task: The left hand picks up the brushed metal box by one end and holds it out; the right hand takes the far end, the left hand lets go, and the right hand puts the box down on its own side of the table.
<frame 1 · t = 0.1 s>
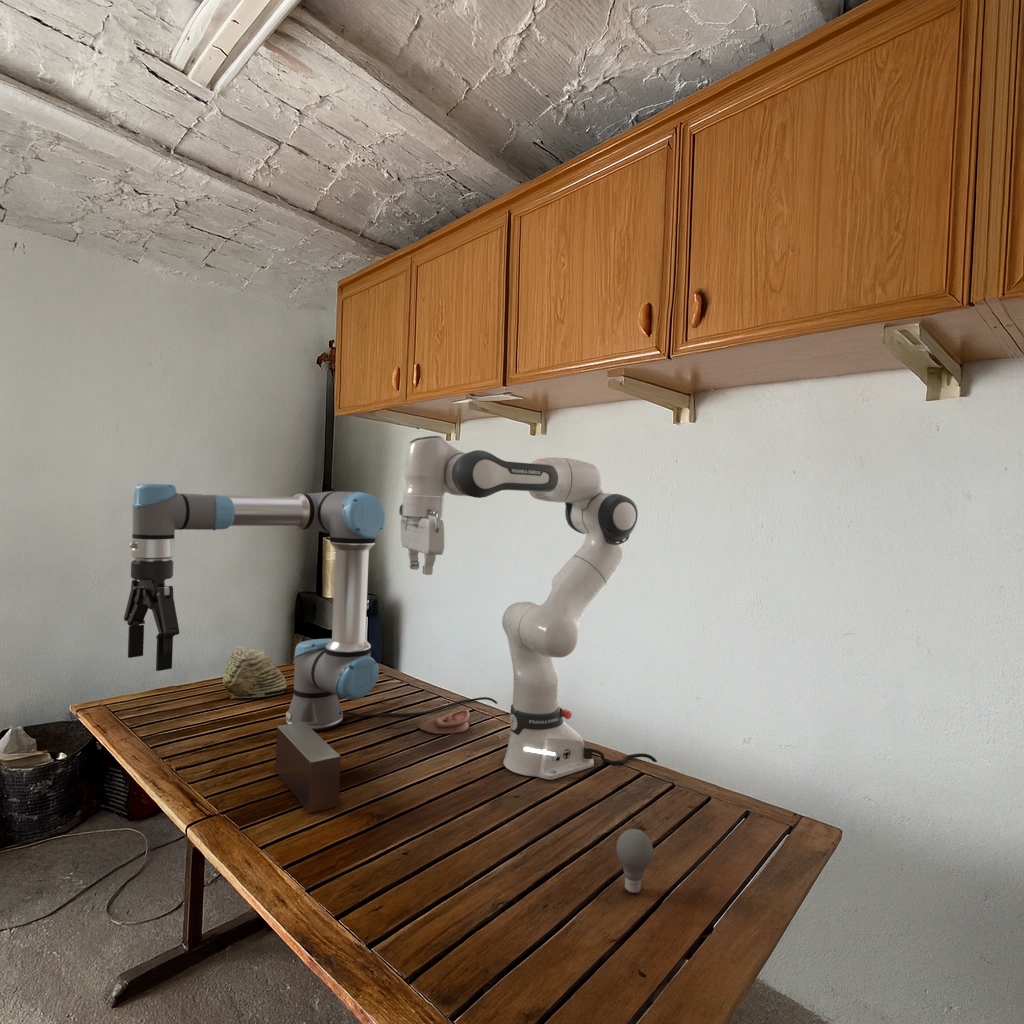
left hand: (149, 663, 129), 28 cm above the table, tool pointing down, fingers open, 13 cm apart
right hand: (420, 571, 140), 48 cm above the table, tool pointing down, fingers open, 8 cm apart
anatomical model: (444, 727, 177), on the table
fossil: (254, 694, 198), on the table
light bulb: (632, 891, 106), on the table
box: (305, 787, 138), on the table
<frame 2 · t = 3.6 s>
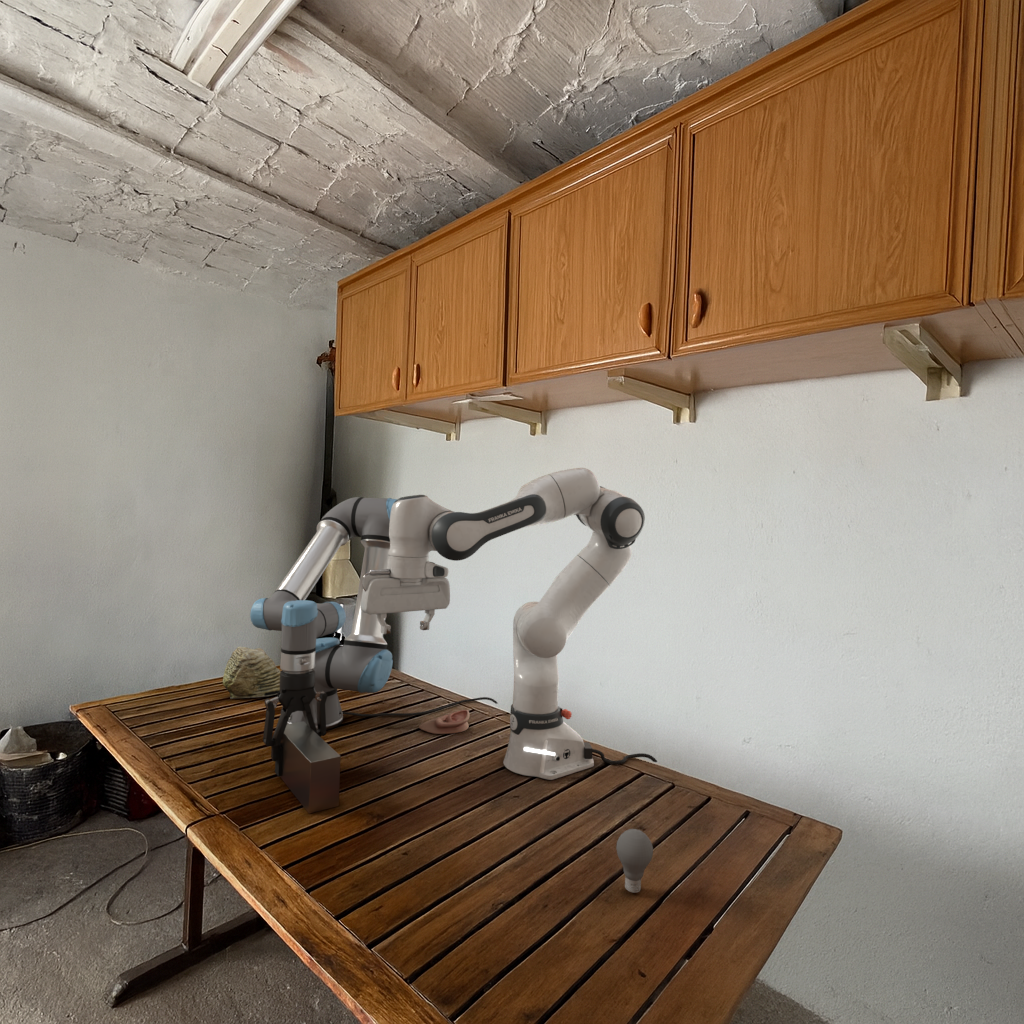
left hand: (293, 770, 144), 1 cm above the table, tool pointing down, fingers closed on box, 6 cm apart
right hand: (405, 631, 139), 35 cm above the table, tool pointing down, fingers open, 8 cm apart
box: (305, 787, 138), on the table, touching left hand
everything else where it was.
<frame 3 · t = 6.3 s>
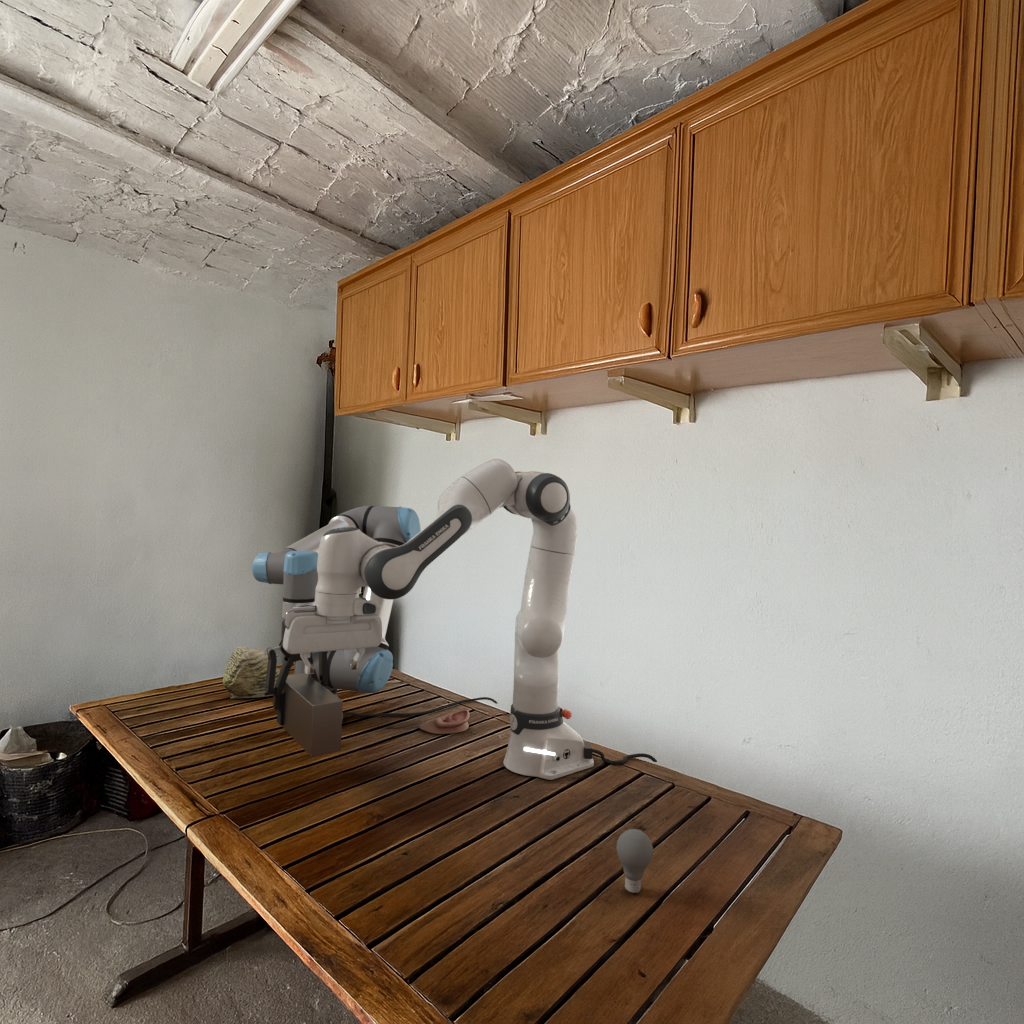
left hand: (295, 720, 144), 12 cm above the table, tool pointing down, fingers closed on box, 6 cm apart
right hand: (332, 671, 132), 27 cm above the table, tool pointing down, fingers open, 8 cm apart
box: (307, 735, 137), point 11 cm above the table, touching left hand
everything else where it was.
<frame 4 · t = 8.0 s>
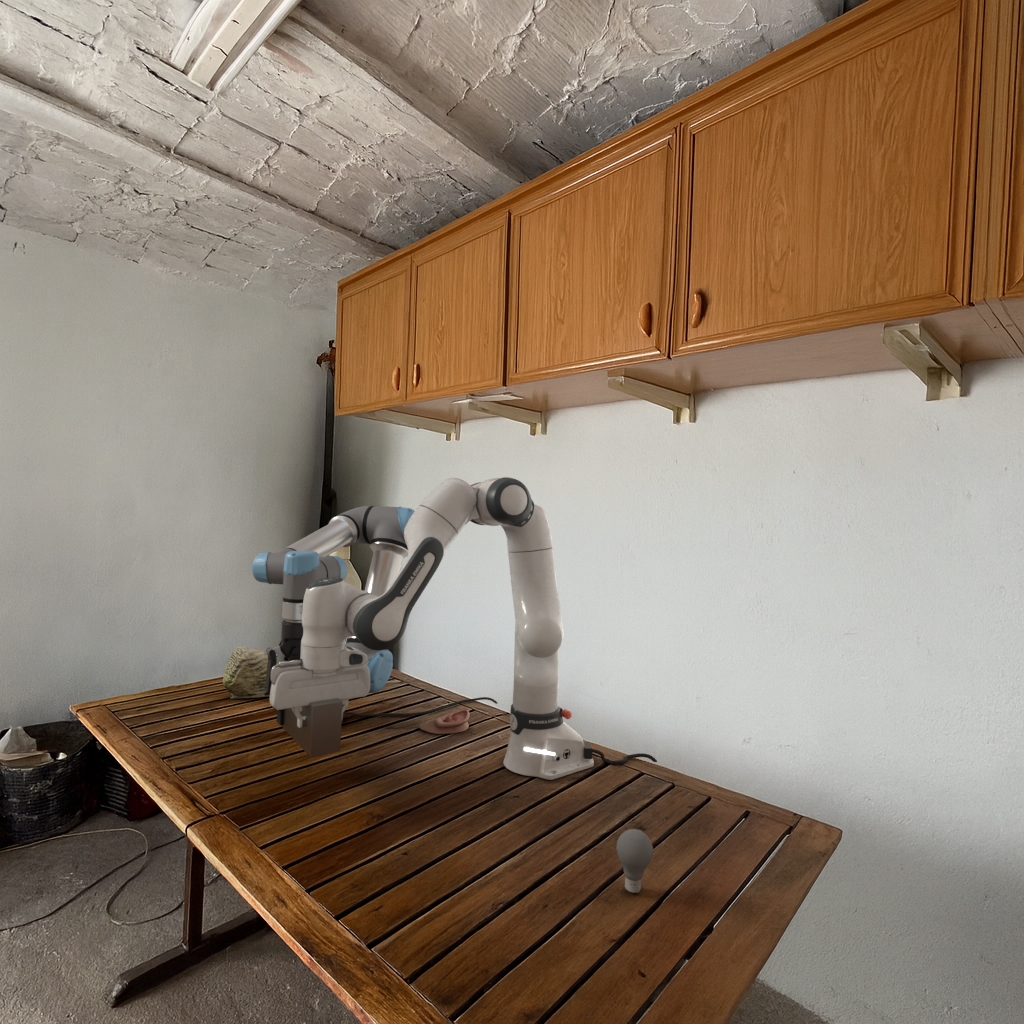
left hand: (295, 720, 144), 12 cm above the table, tool pointing down, fingers closed on box, 6 cm apart
right hand: (320, 723, 131), 17 cm above the table, tool pointing down, fingers closed on box, 6 cm apart
box: (306, 735, 137), point 11 cm above the table, touching left hand, right hand
everything else where it was.
when the left hand's fingers open (12 cm above the table, at t = 9.0 s): box stays where it is, held by the right hand.
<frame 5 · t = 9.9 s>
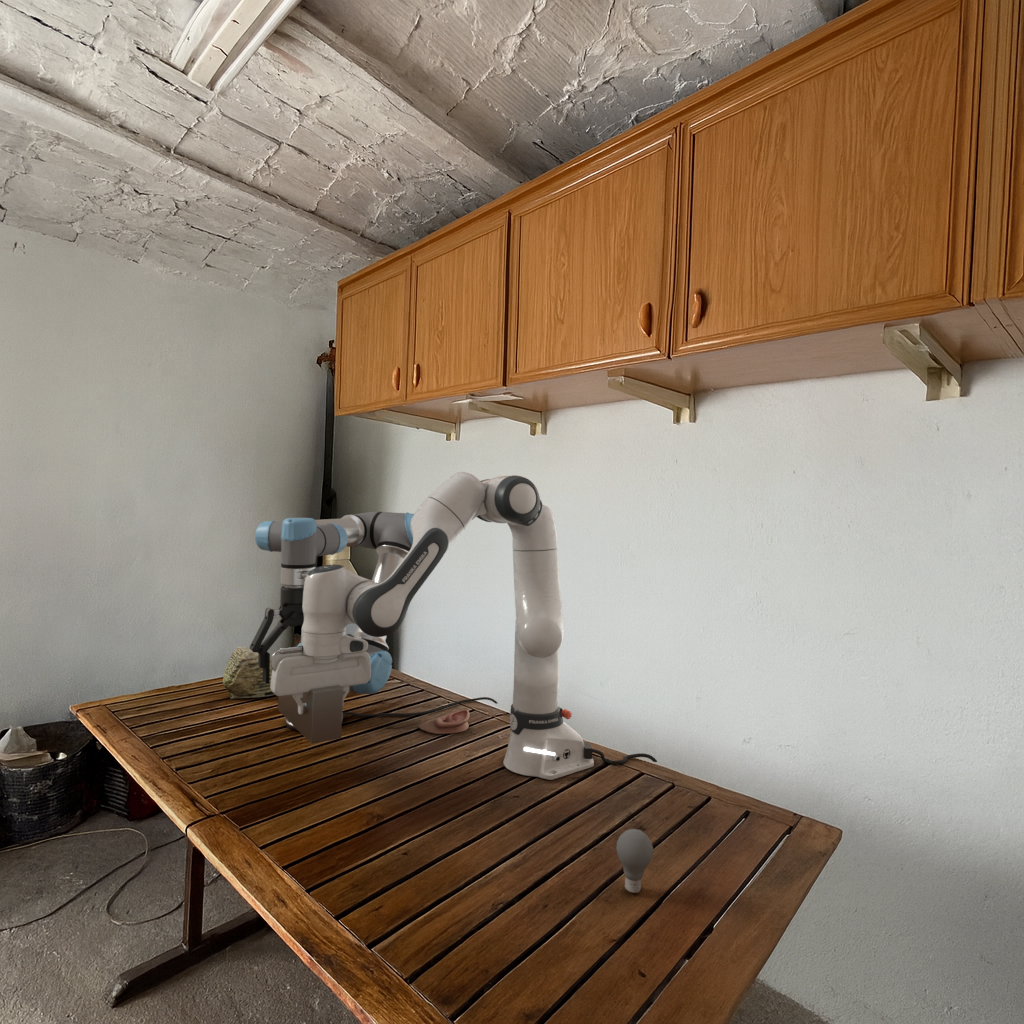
left hand: (296, 676, 146), 22 cm above the table, tool pointing down, fingers open, 13 cm apart
right hand: (321, 710, 131), 19 cm above the table, tool pointing down, fingers closed on box, 6 cm apart
box: (307, 723, 137), point 14 cm above the table, touching right hand
everything else where it was.
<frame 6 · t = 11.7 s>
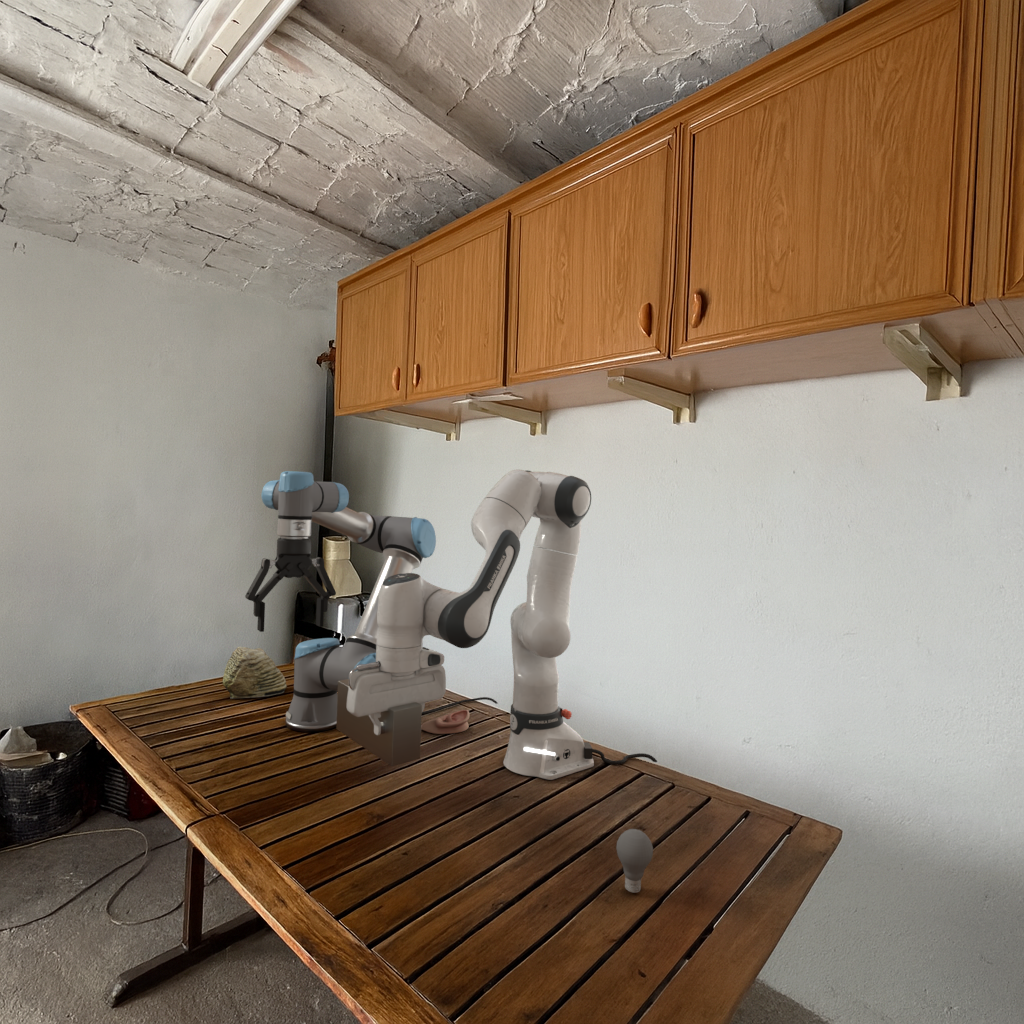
left hand: (290, 628, 148), 32 cm above the table, tool pointing down, fingers open, 13 cm apart
right hand: (397, 729, 122), 19 cm above the table, tool pointing down, fingers closed on box, 6 cm apart
box: (376, 743, 128), point 14 cm above the table, touching right hand
everything else where it was.
when the right hand's fingers open (6 cm above the table, at t = 15.9 s): box drops 1 cm, on the table.
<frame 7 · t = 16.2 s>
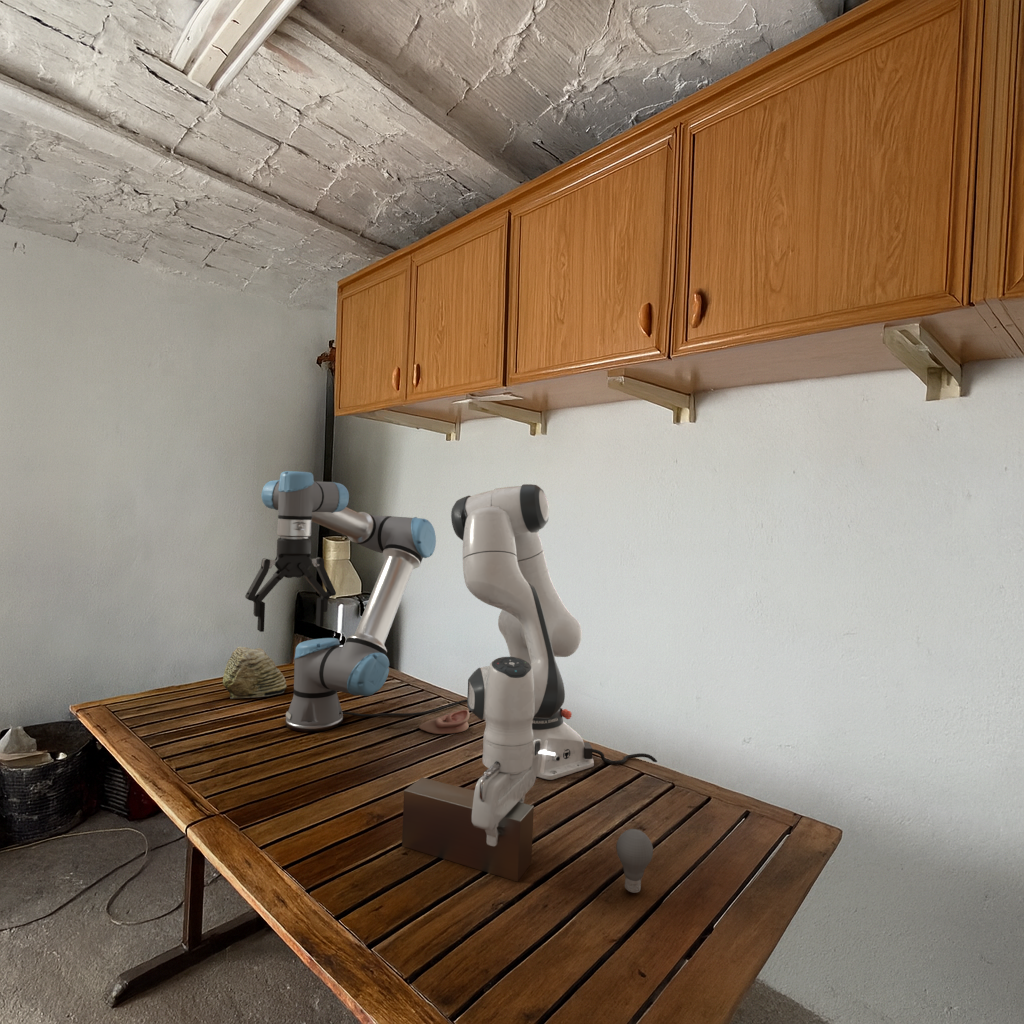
left hand: (290, 628, 148), 32 cm above the table, tool pointing down, fingers open, 13 cm apart
right hand: (504, 830, 111), 6 cm above the table, tool pointing down, fingers open, 8 cm apart
box: (465, 854, 114), on the table
everything else where it was.
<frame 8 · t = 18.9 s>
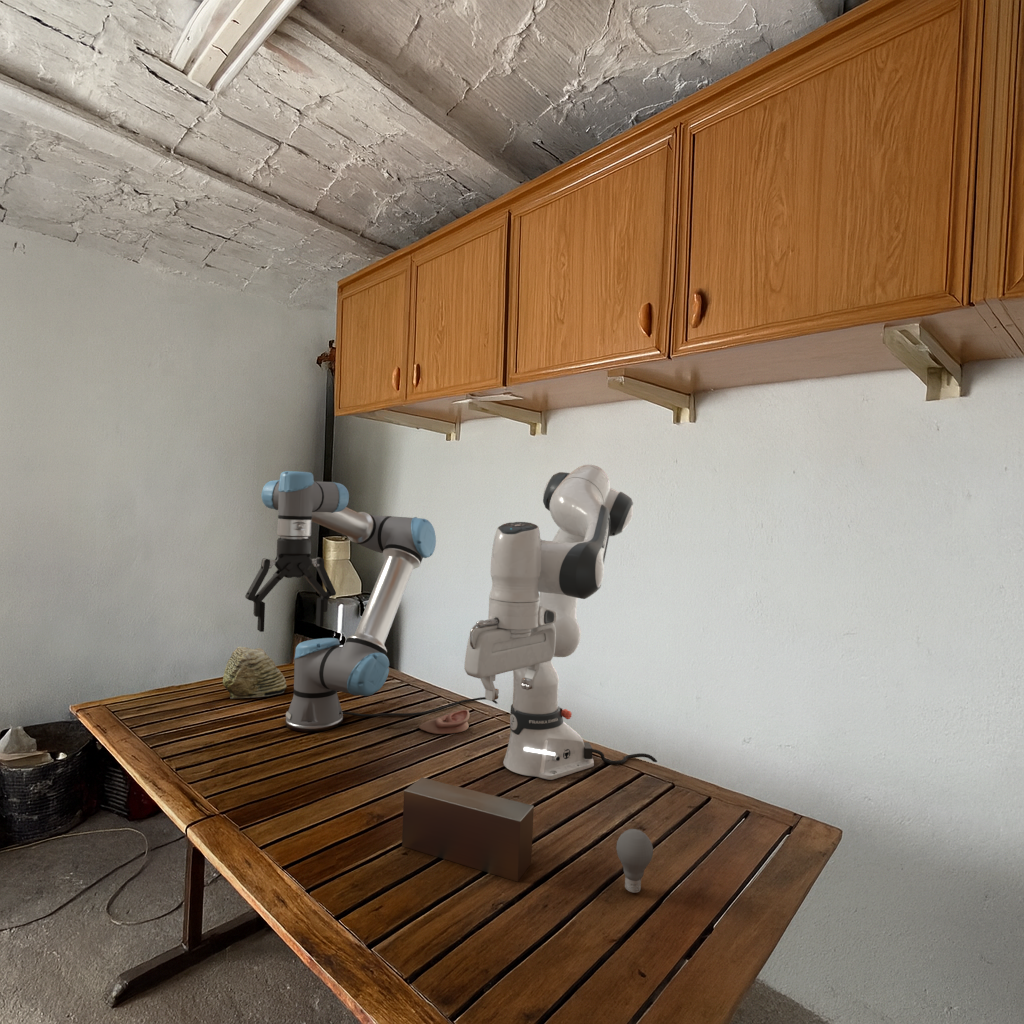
left hand: (290, 628, 148), 32 cm above the table, tool pointing down, fingers open, 13 cm apart
right hand: (510, 693, 111), 30 cm above the table, tool pointing down, fingers open, 8 cm apart
nothing on the table moved.
at the end: box inside the target area (7.4 cm from its centre), on the table; the left hand is holding nothing; the right hand is holding nothing; box at rest at the end (0.0 cm/s) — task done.
